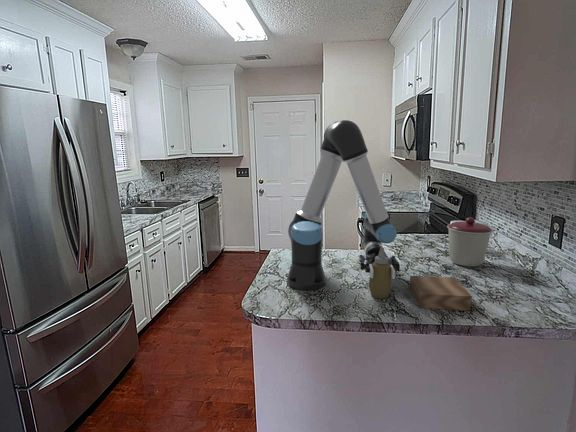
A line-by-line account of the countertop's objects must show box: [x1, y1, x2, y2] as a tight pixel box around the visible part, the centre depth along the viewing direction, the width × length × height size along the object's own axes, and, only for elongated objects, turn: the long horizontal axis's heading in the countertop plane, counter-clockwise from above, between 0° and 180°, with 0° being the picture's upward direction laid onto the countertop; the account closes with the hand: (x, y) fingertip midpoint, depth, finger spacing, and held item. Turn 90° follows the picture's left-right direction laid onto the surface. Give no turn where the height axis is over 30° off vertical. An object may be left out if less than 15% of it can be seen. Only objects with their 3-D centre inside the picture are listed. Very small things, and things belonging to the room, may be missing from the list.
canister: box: [446, 217, 494, 268], centre depth 157 cm, size 18×18×21 cm
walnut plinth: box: [409, 275, 473, 311], centre depth 123 cm, size 16×16×5 cm
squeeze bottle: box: [368, 246, 393, 300], centre depth 124 cm, size 8×8×18 cm
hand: (382, 274), depth 119 cm, fingers closed on squeeze bottle, 6 cm apart
